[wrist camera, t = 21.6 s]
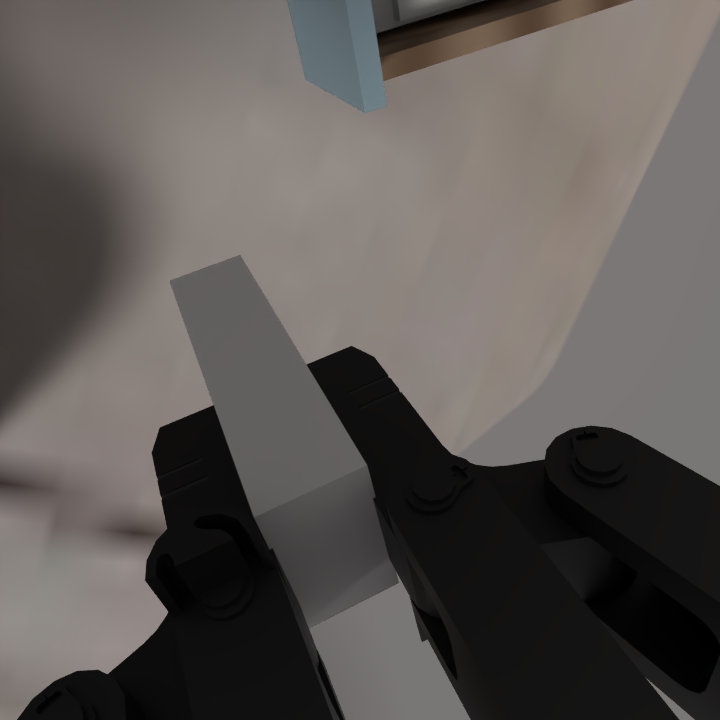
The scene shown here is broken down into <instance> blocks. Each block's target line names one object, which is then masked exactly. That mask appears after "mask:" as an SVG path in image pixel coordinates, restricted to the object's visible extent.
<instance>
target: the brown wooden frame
mask: <svg viewBox="0 0 720 720" xmlns="http://www.w3.org/2000/svg"><path fill="white" fill-rule="evenodd" d="M629 1H632V0H489V1H486V2H483V3H479V4H476V5H473V6H470V7H466V8H463V9H460V10H457V11H453V12H450V13H447V14H444V15H440V16H437V17H434V18H431V19H427V20H424V21H421V22H417V23H414V24H411V25H408V26H404V27H401V28H398V29H395V30H391V31H388V32H385V33H382V34H378V35H376V36H377V43H378V49H379V56H380V62H381V69H382V75H383V81H385V80H388V79H391V78H394V77H398V76H401V75H404V74H407V73H410V72H413V71H416V70H419V69H422V68H425V67H428V66H431V65H435V64H438V63H441V62H444V61H447V60H450V59H453V58H456V57H459V56H462V55H465V54H468V53H472V52H475V51H478V50H481V49H484V48H487V47H490V46H493V45H496V44H499V43H502V42H505V41H509V40H512V39H515V38H518V37H521V36H524V35H527V34H530V33H533V32H536V31H539V30H542V29H546V28H549V27H552V26H555V25H558V24H561V23H564V22H567V21H570V20H573V19H576V18H579V17H583V16H586V15H589V14H592V13H595V12H598V11H601V10H604V9H607V8H610V7H613V6H616V5H620V4H623V3H626V2H629Z"/></svg>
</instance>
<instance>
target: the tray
mask: <svg viewBox="0 0 720 720" xmlns="http://www.w3.org/2000/svg"><path fill="white" fill-rule="evenodd" d="M480 1H483V0H288V4H289V8H290V13H291V17H292V21H293V26H294V30H295V34H296V39H297V43H298V48H299V52H300V56H301V61H302V65H303V69H304V74H305V78H306V80H307V81H309V82H311V83H313V84H314V85H316V86H318V87H320V88H321V89H323V90H325V91H327V92H329V93H330V94H332V95H334V96H336V97H337V98H339V99H341V100H343V101H345V102H346V103H348V104H350V105H352V106H353V107H355V108H357V109H359V110H361V111H362V112H364V113H367V112H370V111H373V110H376V109H379V108H382V107H385V106H387V101H386V95H385V88H384V82H383V75H382V69H381V62H380V56H379V49H378V43H377V36H376V33H379V32H382V31H386V30H389V29H392V28H395V27H399V26H402V25H405V24H408V23H412V22H415V21H418V20H421V19H425V18H428V17H431V16H435V15H438V14H441V13H444V12H448V11H451V10H454V9H457V8H461V7H464V6H467V5H470V4H474V3H477V2H480Z"/></svg>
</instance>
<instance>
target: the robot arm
mask: <svg viewBox="0 0 720 720" xmlns="http://www.w3.org/2000/svg"><path fill="white" fill-rule="evenodd" d="M170 284H171V287H172V289H173V292H174V295H175V298H176V301H177V303H178V306H179V309H180V312H181V315H182V317H183V320H184V323H185V326H186V329H187V331H188V334H189V337H190V340H191V343H192V345H193V348H194V351H195V354H196V357H197V359H198V362H199V365H200V368H201V371H202V374H203V376H204V379H205V382H206V385H207V388H208V390H209V393H210V396H211V399H212V402H213V404H214V405H213V406H211V407H208V408H206V409H203V410H201V411H199V412H196V413H194V414H191V415H189V416H187V417H184V418H182V419H179V420H177V421H175V422H172V423H170V424H167V425H165V426H163V427H160V429H159V432H158V435H157V438H156V441H155V444H154V447H153V451H152V456H153V461H154V466H155V471H156V476H157V478H158V486H159V490H160V495H161V497H162V505H163V510H164V515H165V520H166V525H167V530H166V531H165V532H164V533H163V534H162V535H161V536H160V537H159V538H158V539H157V541H156V542H155V544H154V547H153V549H152V551H151V553H150V555H149V557H148V559H147V563H146V576H145V581H146V582H147V583H148V585H149V586H150V587H151V589H152V590H153V591H154V593H155V594H156V595H157V597H158V598H159V599H160V601H161V602H162V604H163V605H164V606H165V608H166V609H167V610H168V614H167V616H166V617H165V619H164V620H163V622H162V623H161V625H160V626H159V627H158V629H157V630H156V632H155V633H154V634H153V635H152V636H151V637H150V638H149V639H148V640H147V641H146V642H145V643H144V644H143V645H141V646H140V647H139V648H138V649H137V650H136V651H134V652H133V653H132V654H131V655H130V656H129V657H127V658H126V659H125V660H124V661H123V662H122V663H120V664H119V665H118V666H117V667H116V668H114V669H113V670H112V671H111V672H110V673H109V674H106V673H103V672H101V671H99V670H87V671H76V672H74V673H72V674H69V675H67V676H65V677H63V678H60V679H58V680H56V681H54V682H53V683H51V684H50V685H49V686H48V687H47V688H45V689H44V690H43V691H42V692H41V693H39V694H38V695H37V696H36V697H34V698H33V699H32V700H31V702H30V703H29V704H28V706H27V707H26V708H25V710H24V711H23V712H22V714H21V715H20V716H19V718H18V719H17V720H345V717H344V714H343V712H342V710H341V707H340V704H339V701H338V699H337V696H336V694H335V691H334V688H333V686H332V683H331V681H330V678H329V675H328V673H327V670H326V668H325V665H324V663H323V661H322V659H321V657H320V655H319V653H318V651H317V649H316V646H315V644H314V641H313V638H312V635H311V633H310V630H309V628H311V627H313V626H315V625H317V624H319V623H321V622H322V621H325V620H327V619H329V618H331V617H333V616H335V615H337V614H338V613H340V612H342V611H344V610H346V609H348V608H350V607H352V606H354V605H356V604H358V603H360V602H362V601H364V600H366V599H368V598H370V597H372V596H374V595H376V594H378V593H380V592H382V591H384V590H386V589H388V588H389V587H392V586H393V585H396V584H397V583H399V581H398V578H397V574H398V576H399V577H400V579H401V581H402V583H403V585H404V586H405V588H406V590H407V592H408V594H409V596H410V600H411V603H412V607H413V611H414V615H415V619H416V623H417V627H418V630H419V633H420V637H421V640H422V642H423V641H425V640H427V639H428V641H429V643H430V645H431V647H432V648H433V650H434V652H435V654H436V656H437V658H438V660H439V661H440V663H441V665H442V667H443V669H444V671H445V672H446V674H447V676H448V678H449V680H450V682H451V684H452V686H453V687H454V689H455V691H456V693H457V695H458V697H459V699H460V700H461V702H462V704H463V706H464V708H465V710H466V712H467V713H468V715H469V717H470V719H471V720H679V719H678V718H677V716H676V715H675V714H674V713H673V711H671V709H670V708H669V707H668V705H667V704H666V703H665V701H664V700H663V699H662V698H661V697H660V695H659V694H658V693H657V691H656V690H655V689H654V688H653V686H652V685H651V684H650V683H649V682H648V680H649V681H650V682H652V683H653V684H654V685H655V686H656V687H657V688H659V689H660V690H661V691H662V692H663V693H664V694H666V695H667V696H668V697H669V698H670V699H672V700H673V701H674V702H675V703H676V704H677V705H679V706H680V707H681V708H682V709H683V710H684V711H686V712H687V713H688V714H689V715H690V716H691V717H693V718H694V719H695V720H720V486H719V485H717V484H715V483H713V482H712V481H710V480H708V479H706V478H705V477H703V476H701V475H699V474H698V473H696V472H694V471H692V470H691V469H689V468H687V467H685V466H683V465H682V464H680V463H678V462H677V461H675V460H673V459H671V458H669V457H667V456H666V455H664V454H662V453H661V452H659V451H657V450H655V449H654V448H652V447H650V446H648V445H646V444H645V443H643V442H641V441H639V440H638V439H636V438H634V437H632V436H631V435H628V434H626V433H623V432H620V431H618V430H615V429H613V428H607V427H598V426H586V427H580V428H574V429H571V430H569V431H567V432H565V433H563V434H561V435H559V436H557V437H556V438H555V439H554V440H553V442H552V443H551V445H550V446H549V447H548V448H547V450H546V456H545V460H538V461H532V462H527V463H520V464H514V465H508V466H497V467H496V466H495V467H488V466H481V465H475V464H472V463H470V462H468V461H467V460H466V459H464V458H461V457H458V456H455V455H452V454H451V453H450V452H449V451H448V450H447V449H446V448H445V447H444V446H443V445H442V444H441V443H440V441H439V440H438V439H437V438H436V436H435V435H434V434H433V432H432V431H431V430H430V428H429V427H428V426H427V425H426V423H425V422H424V421H423V419H422V418H421V417H420V416H419V414H418V413H417V412H416V410H415V409H414V408H413V407H412V405H411V404H410V403H409V401H408V400H407V399H406V398H405V396H404V395H403V394H402V392H401V393H400V391H399V388H398V387H397V386H396V385H395V383H394V382H393V381H392V379H391V378H389V377H388V374H387V373H386V372H385V370H384V369H383V368H382V367H381V365H380V364H379V363H378V361H377V360H376V359H375V358H374V357H373V356H371V355H369V354H367V353H365V352H363V351H361V350H359V349H357V348H355V347H353V346H350V347H348V348H345V349H343V350H341V351H338V352H336V353H333V354H331V355H328V356H326V357H324V358H321V359H319V360H316V361H314V362H312V363H309V364H307V365H306V363H305V362H304V360H303V358H302V357H301V355H300V353H299V352H298V350H297V348H296V347H295V345H294V343H293V342H292V340H291V338H290V337H289V335H288V333H287V332H286V330H285V329H284V327H283V325H282V324H281V322H280V320H279V319H278V317H277V315H276V314H275V312H274V310H273V309H272V307H271V305H270V304H269V302H268V300H267V299H266V297H265V295H264V294H263V292H262V290H261V289H260V287H259V286H258V284H257V282H256V281H255V279H254V277H253V276H252V274H251V272H250V271H249V269H248V267H247V266H246V264H245V262H244V261H243V259H242V257H241V256H240V255H238V256H236V257H233V258H230V259H227V260H225V261H222V262H219V263H217V264H214V265H211V266H208V267H206V268H203V269H200V270H198V271H195V272H192V273H189V274H187V275H184V276H181V277H179V278H176V279H173V280H170ZM396 572H397V574H396ZM644 676H645V677H646V678H647V679H648V680H647V679H646V678H645V677H644Z"/></svg>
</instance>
